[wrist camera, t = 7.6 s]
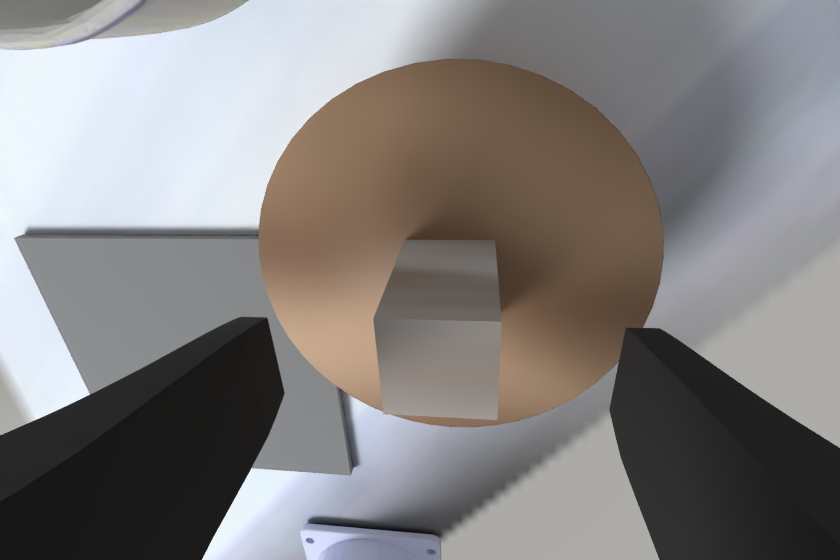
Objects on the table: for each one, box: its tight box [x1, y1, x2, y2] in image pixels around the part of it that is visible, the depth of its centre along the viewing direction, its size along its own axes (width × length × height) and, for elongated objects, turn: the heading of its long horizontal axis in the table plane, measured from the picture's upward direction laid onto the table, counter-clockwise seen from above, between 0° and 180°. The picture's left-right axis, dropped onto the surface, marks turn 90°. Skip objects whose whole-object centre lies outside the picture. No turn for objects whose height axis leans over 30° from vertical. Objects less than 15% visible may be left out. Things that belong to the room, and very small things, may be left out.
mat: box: [14, 235, 353, 475], centre depth 21 cm, size 13×13×1 cm
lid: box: [258, 59, 663, 427], centre depth 11 cm, size 11×11×5 cm
